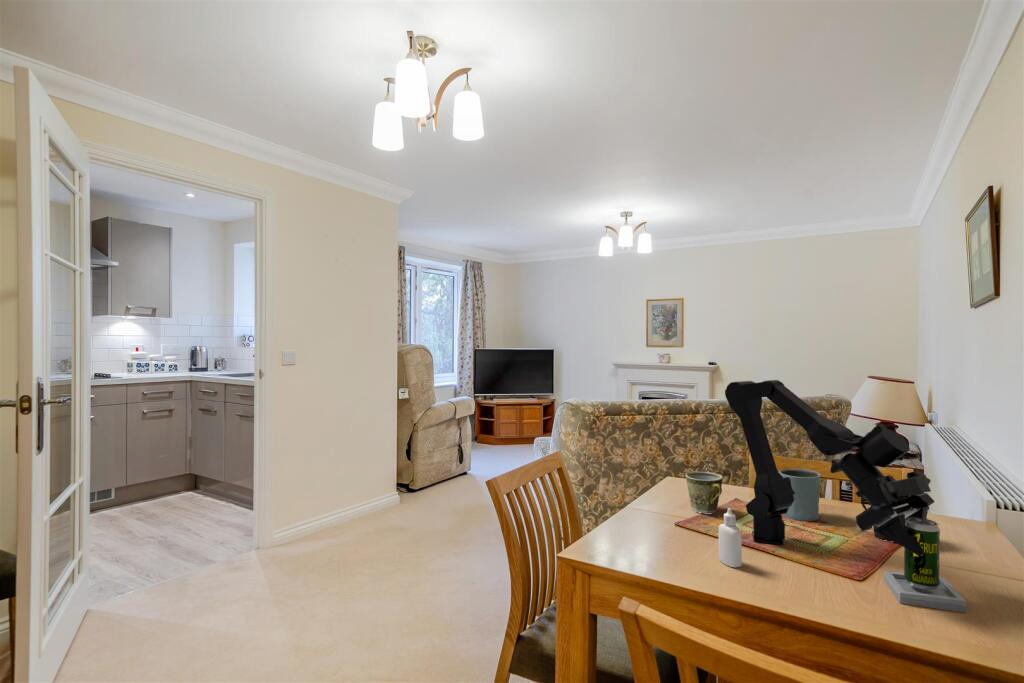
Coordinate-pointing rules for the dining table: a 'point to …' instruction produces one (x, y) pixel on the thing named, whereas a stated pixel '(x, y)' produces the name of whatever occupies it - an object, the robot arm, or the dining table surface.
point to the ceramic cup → (704, 491)
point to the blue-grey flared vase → (803, 494)
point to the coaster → (925, 593)
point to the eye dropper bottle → (730, 541)
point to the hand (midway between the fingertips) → (929, 551)
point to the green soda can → (926, 566)
